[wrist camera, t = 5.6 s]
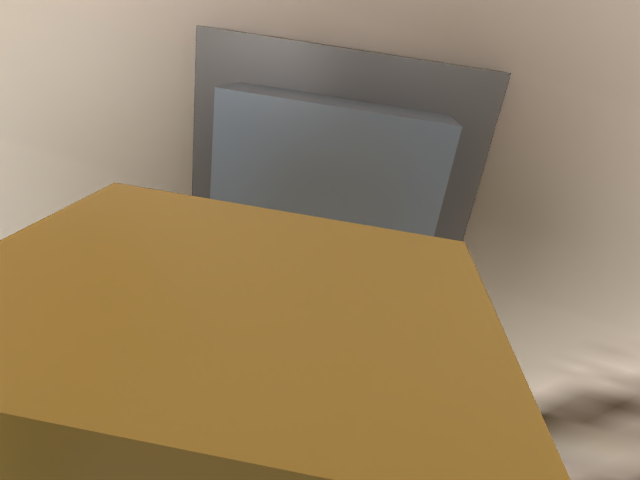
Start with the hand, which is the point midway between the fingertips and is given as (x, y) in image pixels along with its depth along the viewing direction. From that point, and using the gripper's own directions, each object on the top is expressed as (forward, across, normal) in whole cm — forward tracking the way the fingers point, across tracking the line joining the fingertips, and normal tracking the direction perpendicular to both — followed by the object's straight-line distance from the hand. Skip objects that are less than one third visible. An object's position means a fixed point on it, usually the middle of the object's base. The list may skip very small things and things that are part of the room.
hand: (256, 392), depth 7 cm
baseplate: (+11, 0, 0) cm, 11 cm away
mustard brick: (+1, 0, 0) cm, 1 cm away
